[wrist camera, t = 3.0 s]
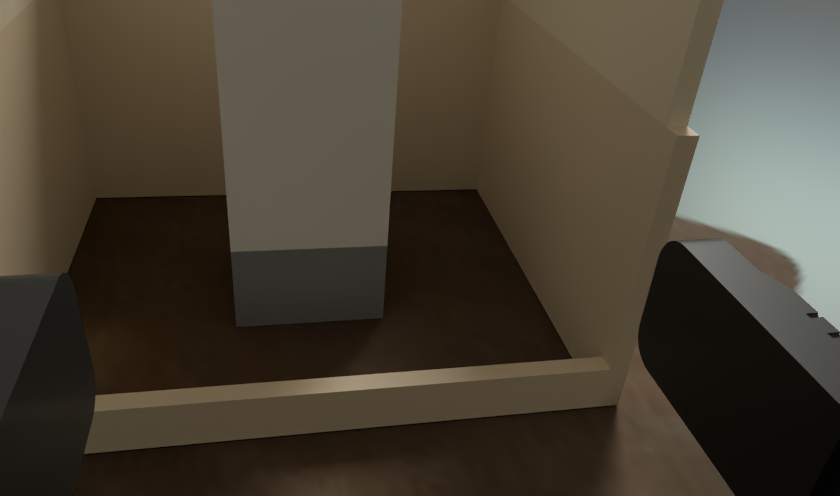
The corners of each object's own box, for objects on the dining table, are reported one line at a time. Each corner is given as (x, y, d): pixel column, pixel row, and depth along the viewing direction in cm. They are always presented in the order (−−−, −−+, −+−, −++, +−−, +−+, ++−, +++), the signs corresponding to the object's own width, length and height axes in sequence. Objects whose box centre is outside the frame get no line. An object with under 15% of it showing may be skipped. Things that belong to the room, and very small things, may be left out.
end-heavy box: (236, 327, 24) (207, -55, 18) (238, 248, 28) (216, -84, 22) (382, 318, 25) (405, -45, 19) (364, 243, 29) (377, -75, 23)
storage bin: (-31, 464, 18) (-237, -88, 11) (84, 191, 31) (18, -150, 24) (617, 405, 22) (752, -38, 15) (484, 183, 35) (526, -114, 28)
